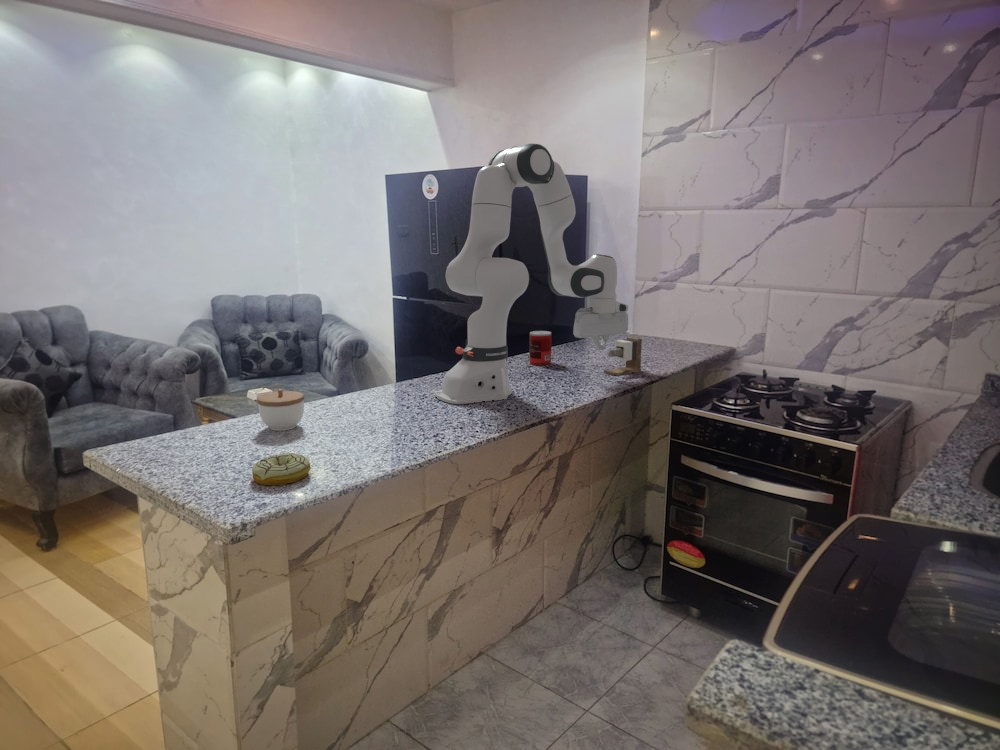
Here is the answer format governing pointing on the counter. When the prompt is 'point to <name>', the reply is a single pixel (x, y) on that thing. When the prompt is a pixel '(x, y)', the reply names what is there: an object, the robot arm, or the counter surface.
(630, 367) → the pipe stand
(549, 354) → the canned food
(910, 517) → the counter surface
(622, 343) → the sleeve
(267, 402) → the lidded jar
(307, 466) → the decorated donut
